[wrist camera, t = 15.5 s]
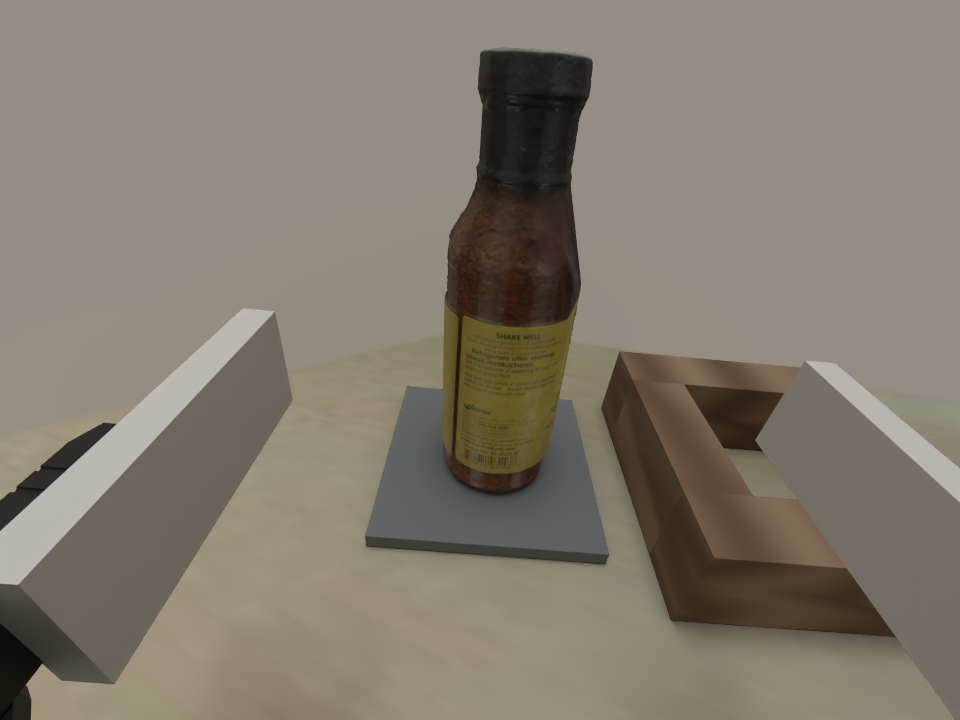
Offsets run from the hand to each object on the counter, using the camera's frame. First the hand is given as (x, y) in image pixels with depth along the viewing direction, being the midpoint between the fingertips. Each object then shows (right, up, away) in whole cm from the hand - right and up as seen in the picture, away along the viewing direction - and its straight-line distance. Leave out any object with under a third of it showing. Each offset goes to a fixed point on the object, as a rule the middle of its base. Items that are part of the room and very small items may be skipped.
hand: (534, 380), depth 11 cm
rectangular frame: (+15, -8, +15) cm, 22 cm away
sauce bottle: (-1, -5, +15) cm, 16 cm away
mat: (-1, -6, +15) cm, 16 cm away
